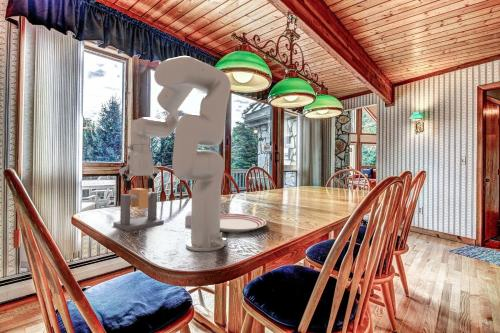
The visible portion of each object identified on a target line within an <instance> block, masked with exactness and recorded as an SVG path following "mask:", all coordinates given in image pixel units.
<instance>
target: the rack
mask: <svg viewBox="0 0 500 333" xmlns="http://www.w3.org/2000/svg"><path fill="white" fill-rule="evenodd" d="M137 198H138V194H131V193H130V194H128V193H127V194H120V215H119V216H120V218H119V219H120V221H119V220H118V221H113V226H114V227H116V228H118V229H121V230H123V231H127V232H130V231H136V230H140V229H145V228H150V227H154V226H158V225H160V226H161V225H164V224H165V223H164V222H165V221H164V220H163V219H159V218H157V215H158V214H157V213H158V212H157V211H158V210H157V209H158V208H157V206H158V205H157V203H158V193H157V192H155V191H148V208H147V216H144V217H137V218H131V199H137Z"/></svg>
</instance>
